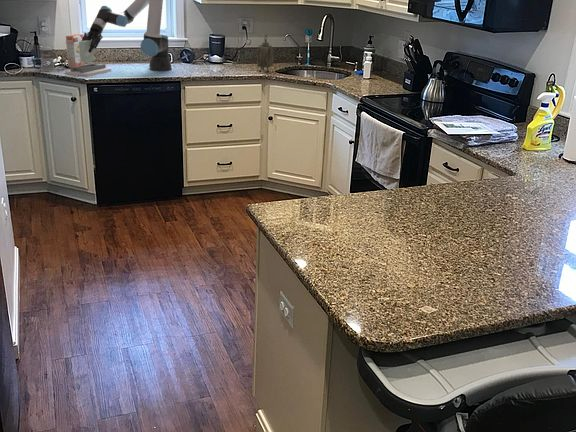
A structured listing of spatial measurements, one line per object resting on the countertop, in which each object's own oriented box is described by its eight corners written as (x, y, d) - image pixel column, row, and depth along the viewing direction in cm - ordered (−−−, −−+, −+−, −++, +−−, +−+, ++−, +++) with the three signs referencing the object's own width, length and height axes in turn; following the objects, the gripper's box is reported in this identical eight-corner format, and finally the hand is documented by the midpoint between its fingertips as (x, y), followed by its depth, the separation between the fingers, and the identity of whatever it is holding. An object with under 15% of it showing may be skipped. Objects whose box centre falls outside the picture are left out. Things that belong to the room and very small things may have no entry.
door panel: (94, 61, 410) (93, 40, 405) (85, 62, 402) (84, 42, 397) (89, 60, 411) (88, 40, 406) (80, 62, 403) (78, 41, 398)
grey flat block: (111, 71, 416) (110, 64, 415) (88, 76, 396) (87, 69, 394) (89, 68, 422) (88, 62, 421) (65, 73, 401) (64, 66, 400)
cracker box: (76, 68, 420) (73, 36, 412) (67, 67, 421) (64, 35, 413) (85, 65, 433) (83, 34, 425) (77, 64, 434) (74, 33, 426)
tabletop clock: (261, 69, 447) (262, 33, 438) (273, 70, 446) (274, 34, 437) (256, 72, 434) (257, 35, 425) (269, 73, 433) (270, 36, 423)
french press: (39, 69, 410) (35, 30, 401) (57, 68, 416) (54, 29, 406) (41, 71, 402) (37, 31, 393) (60, 71, 408) (56, 31, 398)
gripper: (111, 32, 410) (97, 60, 402) (89, 29, 416) (75, 57, 408) (105, 24, 403) (91, 53, 395) (84, 21, 409) (69, 50, 401)
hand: (83, 55), depth 401 cm, fingers closed on door panel, 4 cm apart
